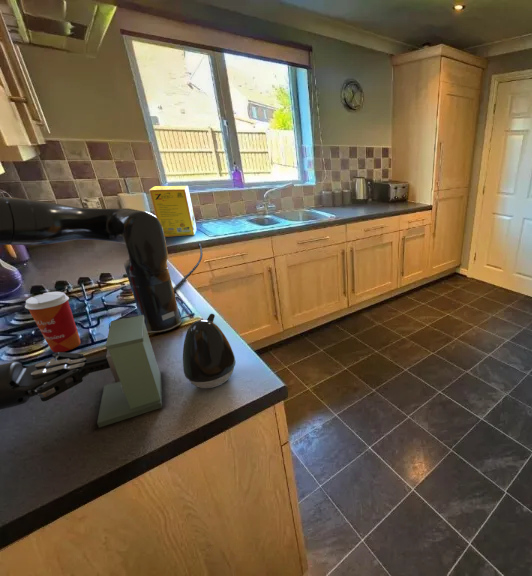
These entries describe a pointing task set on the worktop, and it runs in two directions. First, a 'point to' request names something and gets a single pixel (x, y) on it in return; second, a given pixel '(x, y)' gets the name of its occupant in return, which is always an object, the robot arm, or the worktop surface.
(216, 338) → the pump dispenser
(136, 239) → the robot arm
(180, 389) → the worktop surface
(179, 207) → the packaging box
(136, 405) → the dispenser housing
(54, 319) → the paper cup
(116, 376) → the plate
